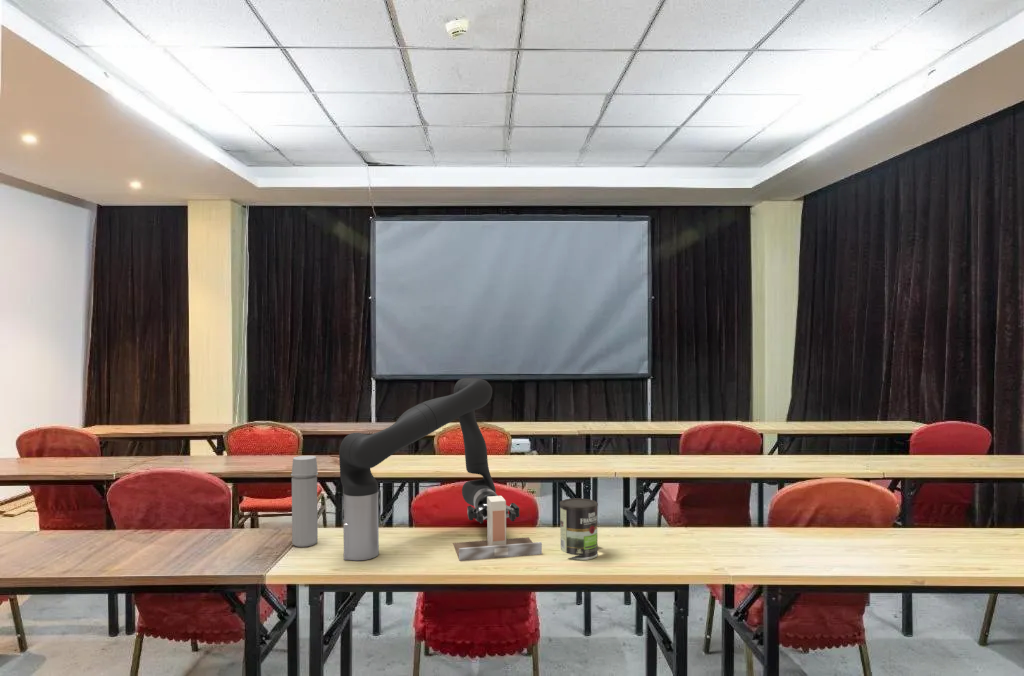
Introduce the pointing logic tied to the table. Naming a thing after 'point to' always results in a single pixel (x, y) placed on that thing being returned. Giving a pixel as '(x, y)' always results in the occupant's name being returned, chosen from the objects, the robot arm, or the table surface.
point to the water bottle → (304, 501)
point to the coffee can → (579, 528)
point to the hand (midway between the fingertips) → (497, 518)
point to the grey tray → (497, 549)
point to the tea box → (496, 520)
